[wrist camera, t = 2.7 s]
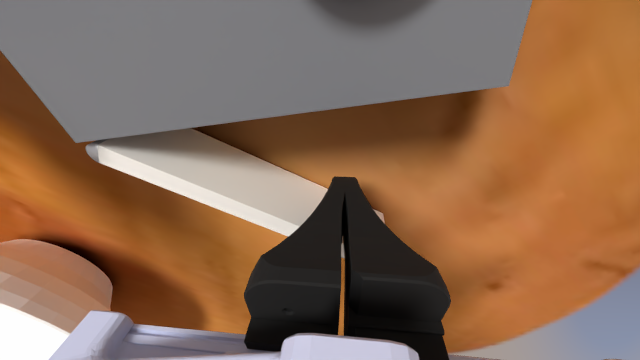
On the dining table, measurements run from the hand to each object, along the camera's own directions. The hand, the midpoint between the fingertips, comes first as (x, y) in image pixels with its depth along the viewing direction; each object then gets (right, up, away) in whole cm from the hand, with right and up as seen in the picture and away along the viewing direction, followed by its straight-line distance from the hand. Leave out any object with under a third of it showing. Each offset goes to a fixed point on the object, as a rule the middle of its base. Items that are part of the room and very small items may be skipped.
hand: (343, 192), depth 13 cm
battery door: (-4, +1, +2) cm, 5 cm away
